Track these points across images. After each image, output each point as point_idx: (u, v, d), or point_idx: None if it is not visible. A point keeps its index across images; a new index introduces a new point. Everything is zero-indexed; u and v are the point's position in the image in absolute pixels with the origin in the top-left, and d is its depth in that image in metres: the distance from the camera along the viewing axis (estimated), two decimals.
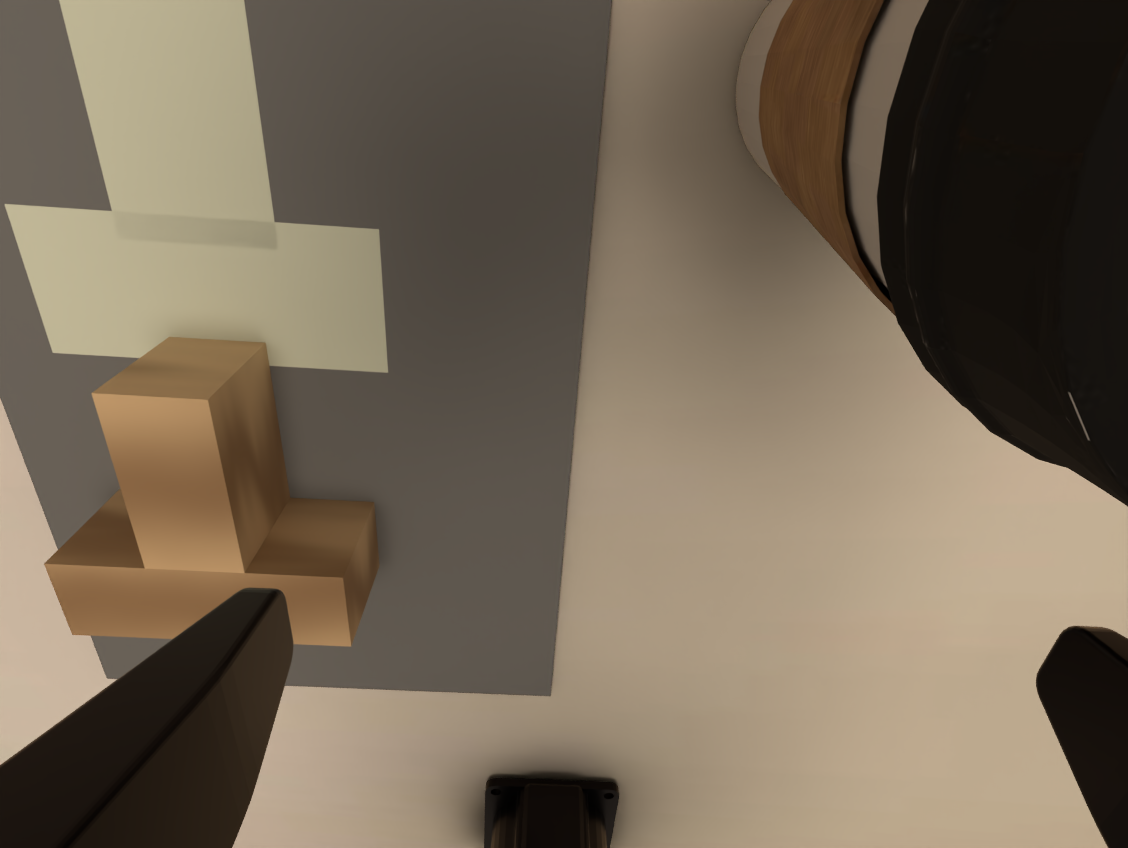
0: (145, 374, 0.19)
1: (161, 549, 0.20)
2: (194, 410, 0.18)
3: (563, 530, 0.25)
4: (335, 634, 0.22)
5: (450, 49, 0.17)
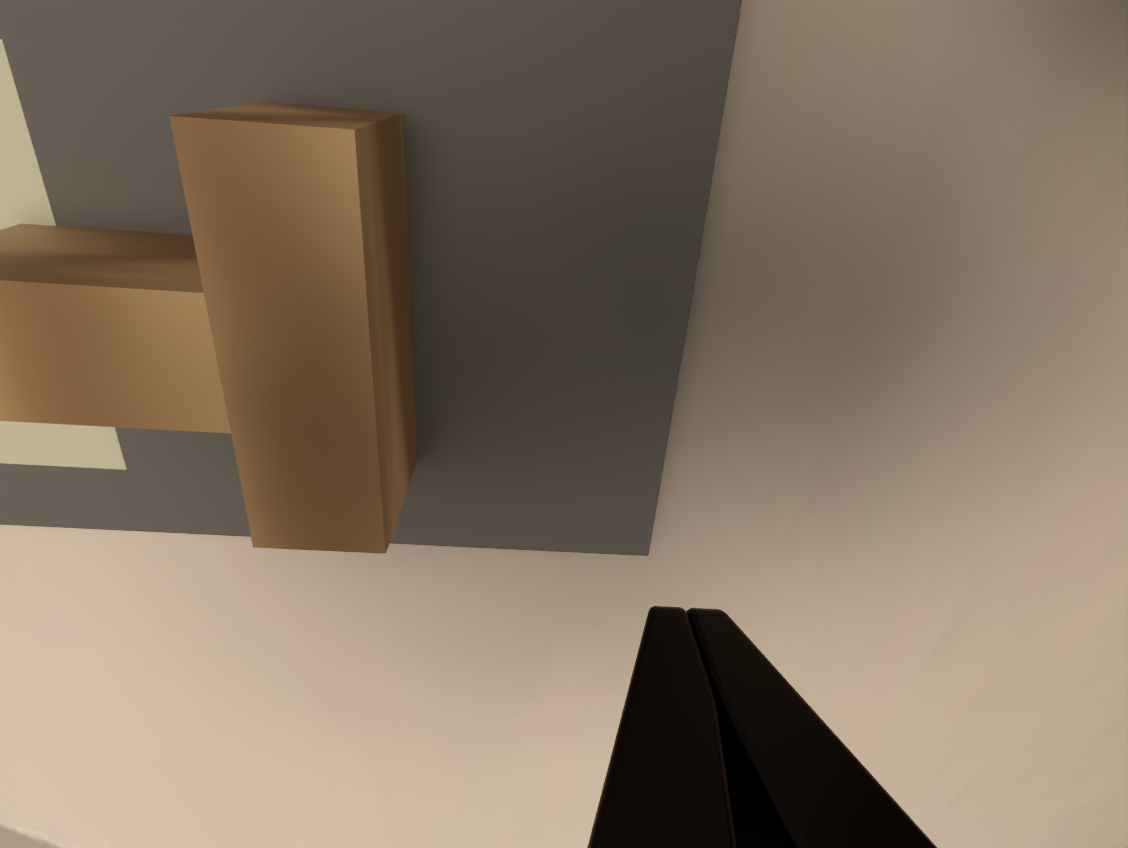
0: None
1: (184, 402, 0.13)
2: None
3: None
4: (324, 157, 0.11)
5: None
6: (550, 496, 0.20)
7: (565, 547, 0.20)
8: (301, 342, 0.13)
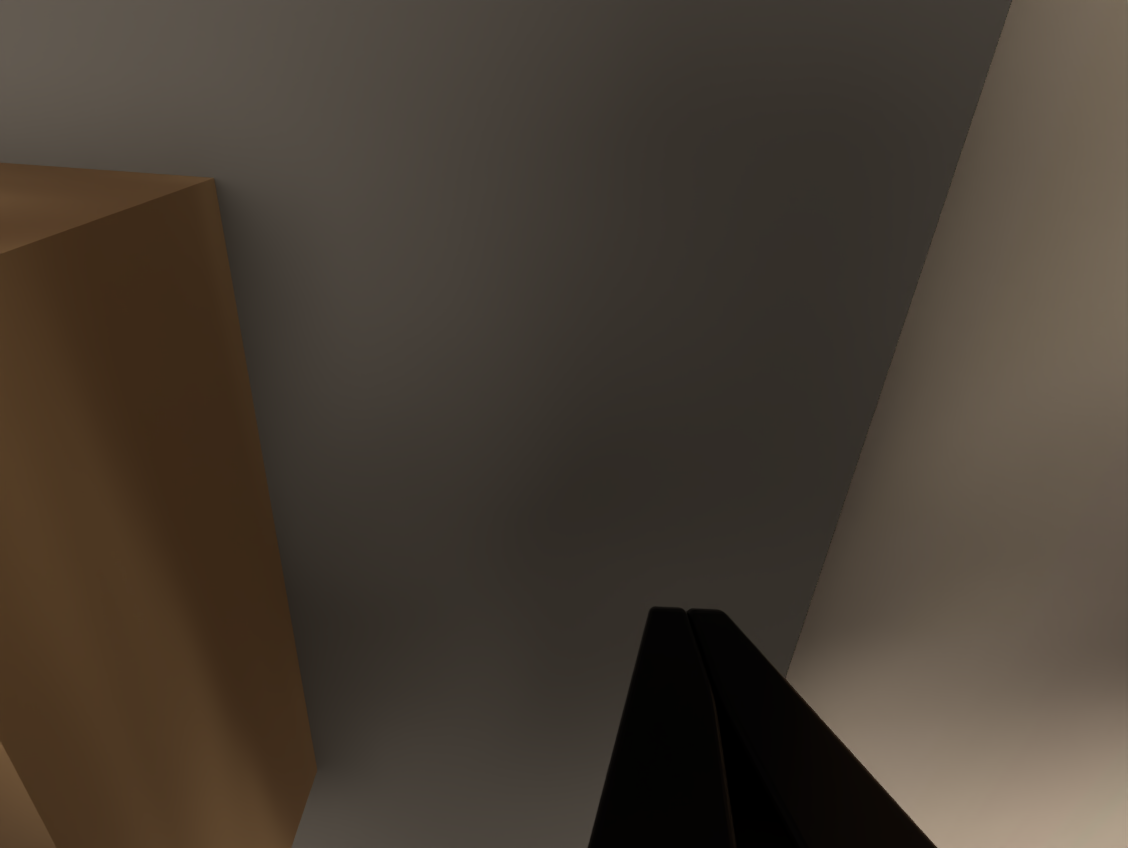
0: None
1: None
2: None
3: None
4: None
5: None
6: (553, 813, 0.11)
7: None
8: None
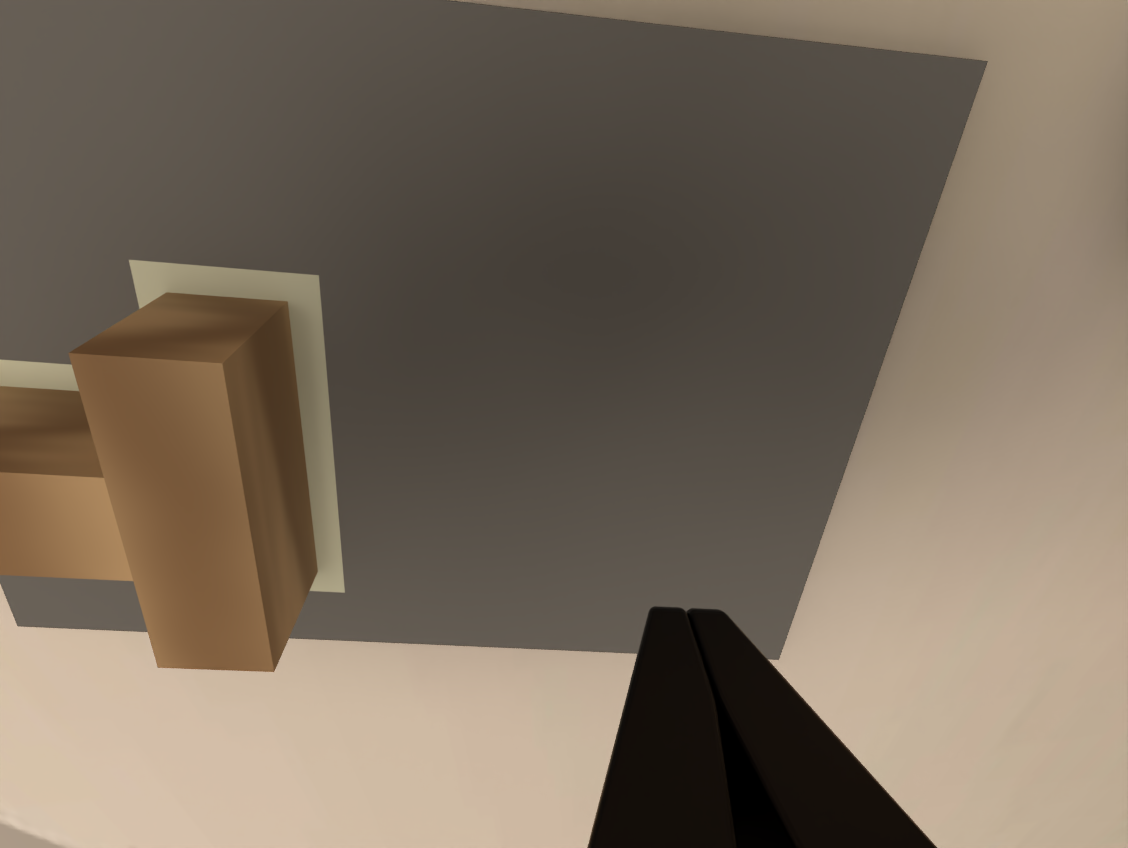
0: None
1: (91, 558, 0.16)
2: None
3: (583, 19, 0.14)
4: (199, 382, 0.14)
5: None
6: None
7: None
8: (189, 513, 0.15)
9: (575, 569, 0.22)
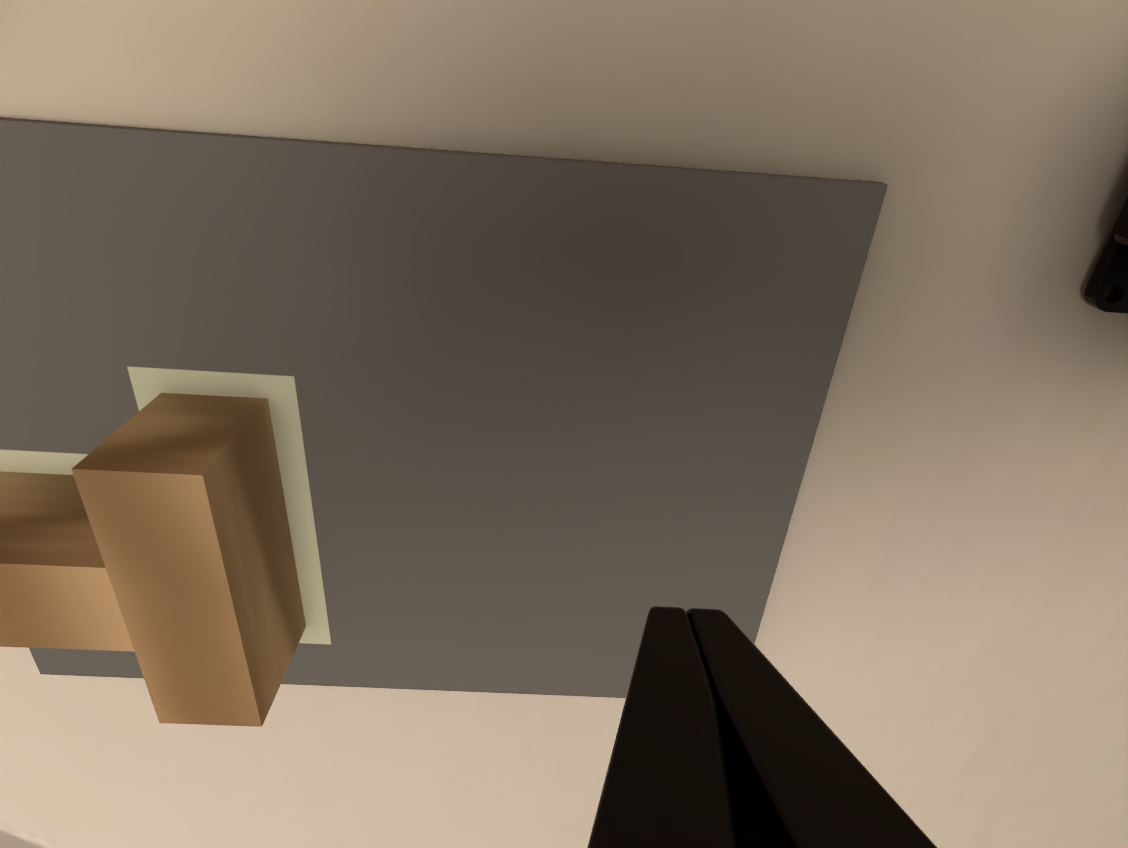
0: None
1: (97, 633, 0.18)
2: None
3: (516, 160, 0.16)
4: (183, 490, 0.16)
5: None
6: None
7: None
8: (180, 596, 0.17)
9: (541, 623, 0.23)
